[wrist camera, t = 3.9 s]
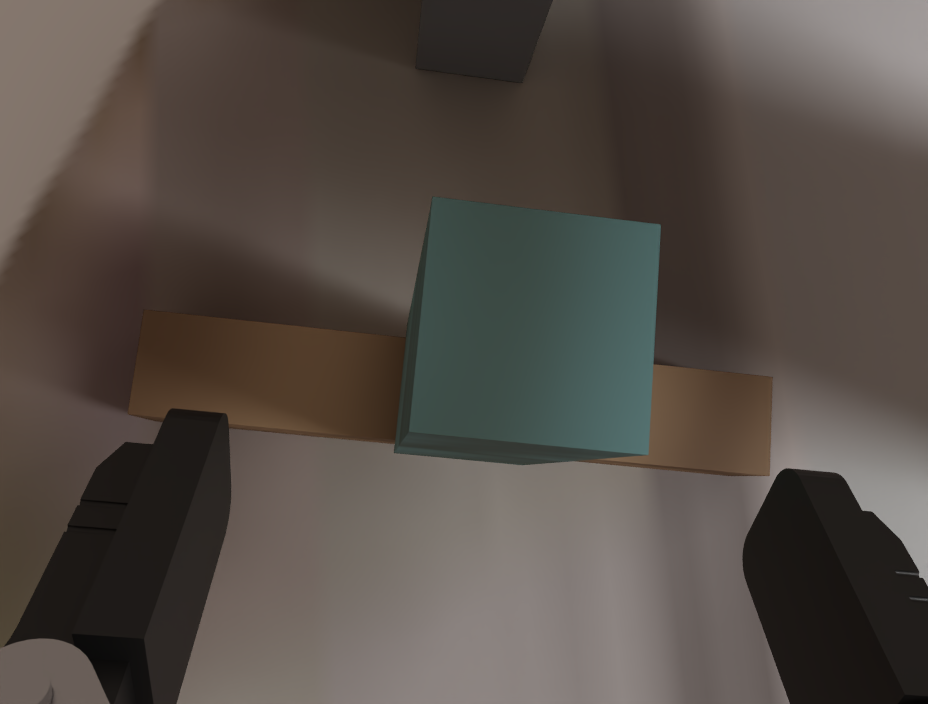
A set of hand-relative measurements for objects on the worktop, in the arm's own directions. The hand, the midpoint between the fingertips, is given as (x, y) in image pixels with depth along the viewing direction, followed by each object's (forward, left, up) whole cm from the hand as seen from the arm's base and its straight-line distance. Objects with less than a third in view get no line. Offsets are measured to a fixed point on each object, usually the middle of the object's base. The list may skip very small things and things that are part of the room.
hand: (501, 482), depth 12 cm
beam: (0, -2, -9) cm, 10 cm away
